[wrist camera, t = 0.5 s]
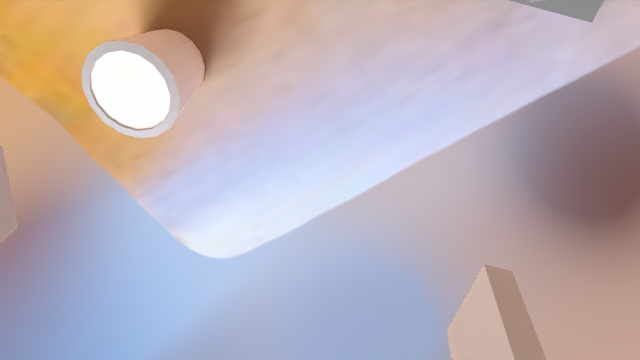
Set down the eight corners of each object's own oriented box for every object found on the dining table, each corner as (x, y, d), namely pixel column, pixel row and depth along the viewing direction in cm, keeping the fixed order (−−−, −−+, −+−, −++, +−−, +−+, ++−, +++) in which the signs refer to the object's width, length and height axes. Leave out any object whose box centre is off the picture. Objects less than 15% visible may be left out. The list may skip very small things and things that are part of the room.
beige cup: (215, 107, 37) (185, 142, 31) (138, 101, 37) (92, 134, 31) (208, 23, 33) (172, 44, 27) (122, 17, 34) (68, 37, 28)
